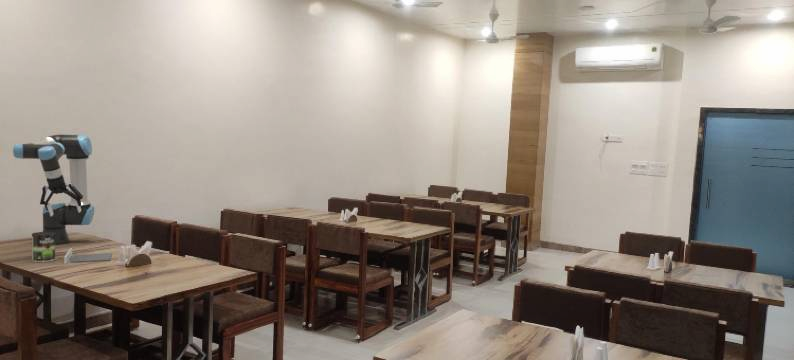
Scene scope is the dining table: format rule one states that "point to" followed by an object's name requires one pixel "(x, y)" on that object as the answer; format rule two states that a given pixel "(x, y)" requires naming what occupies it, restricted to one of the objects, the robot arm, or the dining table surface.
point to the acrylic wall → (68, 256)
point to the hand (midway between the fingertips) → (66, 213)
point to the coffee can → (43, 246)
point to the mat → (91, 257)
